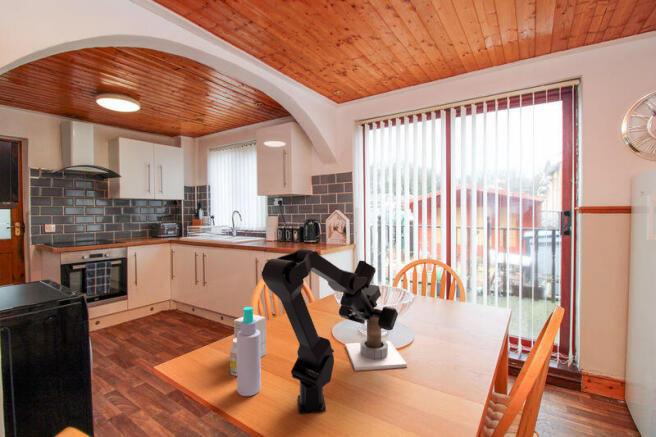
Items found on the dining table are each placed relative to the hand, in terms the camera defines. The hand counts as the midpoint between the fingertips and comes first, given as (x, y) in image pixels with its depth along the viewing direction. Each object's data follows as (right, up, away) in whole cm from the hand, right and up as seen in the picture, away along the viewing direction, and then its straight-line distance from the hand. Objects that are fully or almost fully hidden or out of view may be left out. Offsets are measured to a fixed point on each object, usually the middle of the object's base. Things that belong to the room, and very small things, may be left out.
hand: (376, 325), depth 100 cm
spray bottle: (-37, -11, -19) cm, 43 cm away
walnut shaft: (-1, -9, -1) cm, 9 cm away
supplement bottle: (-42, -10, -10) cm, 44 cm away
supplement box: (-41, -10, -1) cm, 42 cm away
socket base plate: (-1, -10, -1) cm, 10 cm away
